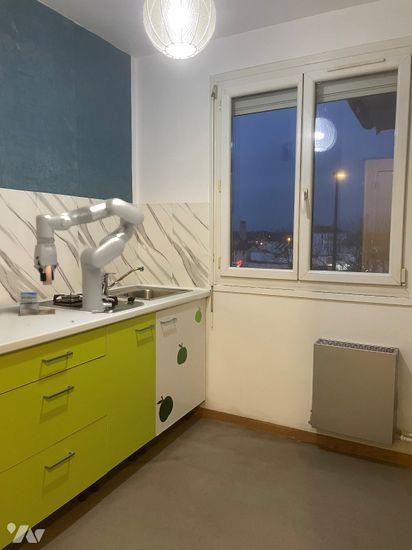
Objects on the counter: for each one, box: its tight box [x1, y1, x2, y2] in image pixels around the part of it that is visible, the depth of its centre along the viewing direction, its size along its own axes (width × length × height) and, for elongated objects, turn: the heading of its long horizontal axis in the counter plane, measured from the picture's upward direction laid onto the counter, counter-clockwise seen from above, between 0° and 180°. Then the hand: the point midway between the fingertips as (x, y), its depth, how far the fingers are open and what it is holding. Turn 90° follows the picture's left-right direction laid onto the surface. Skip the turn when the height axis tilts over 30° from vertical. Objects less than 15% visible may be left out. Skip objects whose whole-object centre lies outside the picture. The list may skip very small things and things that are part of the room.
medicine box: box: [19, 291, 38, 303], centre depth 210 cm, size 8×4×9 cm, turn 112°
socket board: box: [17, 301, 56, 317], centre depth 195 cm, size 16×14×5 cm
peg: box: [42, 265, 53, 286], centre depth 191 cm, size 4×4×10 cm
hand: (47, 280), depth 191 cm, fingers closed on peg, 4 cm apart
